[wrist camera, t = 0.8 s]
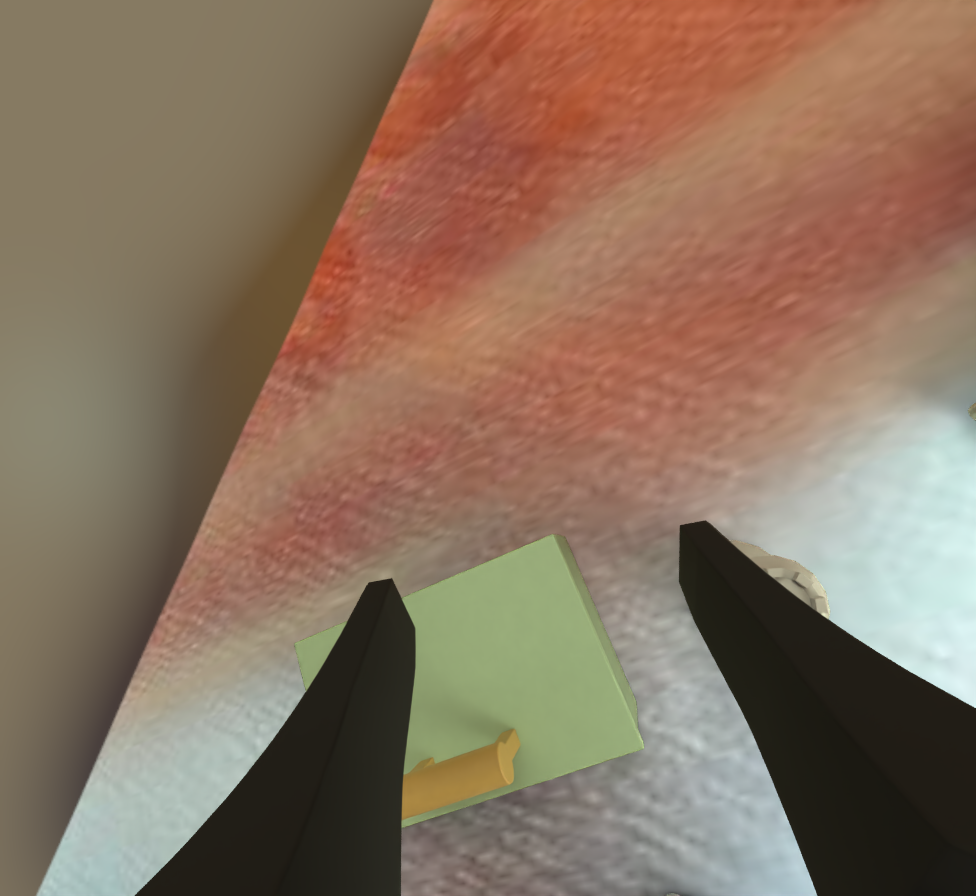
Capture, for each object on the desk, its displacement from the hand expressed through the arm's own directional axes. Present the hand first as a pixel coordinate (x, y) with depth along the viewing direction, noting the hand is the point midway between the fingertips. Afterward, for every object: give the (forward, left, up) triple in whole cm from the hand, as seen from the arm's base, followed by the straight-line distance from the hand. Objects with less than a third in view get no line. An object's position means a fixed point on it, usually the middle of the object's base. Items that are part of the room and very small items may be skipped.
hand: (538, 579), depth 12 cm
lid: (-6, +5, -10) cm, 13 cm away
